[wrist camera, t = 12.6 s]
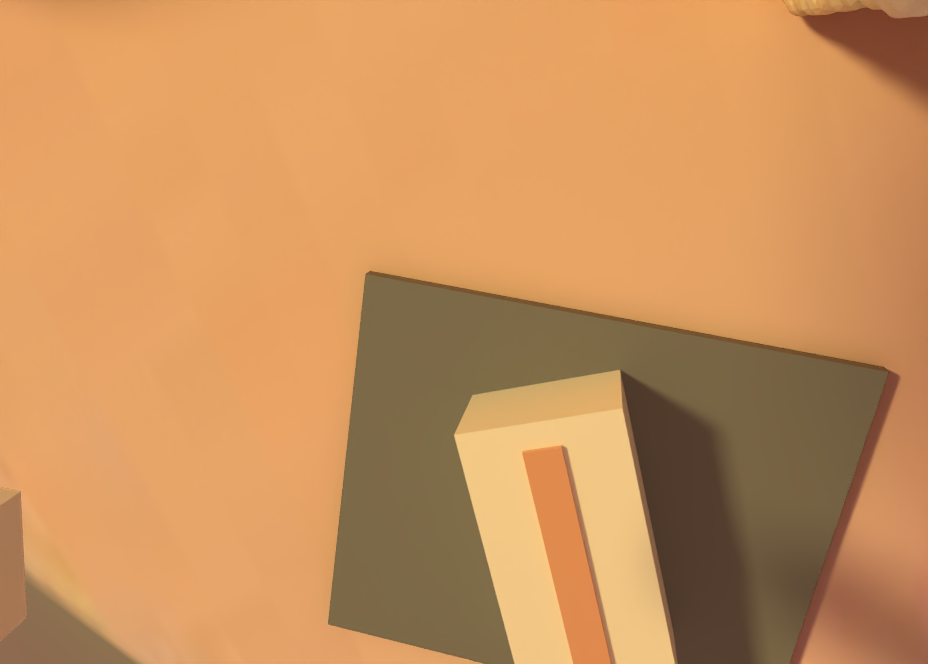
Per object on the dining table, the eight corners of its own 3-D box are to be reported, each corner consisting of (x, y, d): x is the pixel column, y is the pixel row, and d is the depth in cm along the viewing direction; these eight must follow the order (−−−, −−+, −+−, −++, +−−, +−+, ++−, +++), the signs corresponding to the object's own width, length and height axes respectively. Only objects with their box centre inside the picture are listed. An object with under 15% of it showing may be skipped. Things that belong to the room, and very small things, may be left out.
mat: (332, 615, 36) (328, 624, 35) (369, 271, 31) (365, 274, 30) (762, 723, 33) (765, 733, 33) (883, 367, 28) (888, 372, 27)
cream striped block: (472, 394, 31) (452, 437, 27) (620, 370, 29) (622, 410, 25) (535, 643, 33) (526, 715, 29) (673, 631, 32) (683, 704, 28)
